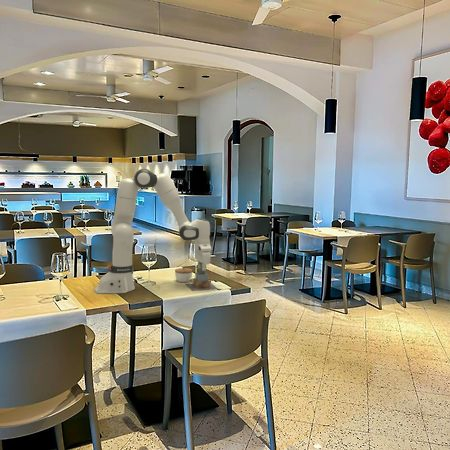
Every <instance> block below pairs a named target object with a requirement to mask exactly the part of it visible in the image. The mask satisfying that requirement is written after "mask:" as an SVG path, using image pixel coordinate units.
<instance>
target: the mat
mask: <svg viewBox="0 0 450 450" xmlns="http://www.w3.org/2000/svg"><path fill="white" fill-rule="evenodd" d="M185 286H186V287H187V288H188V289H190V291H191V292H196V291H197V292H198V291H214V290H219V288H218V287H217V286H215V285H214V284H213V283H212V282H210V288H201V289H197V288H196V287H195V286H193V283H185Z"/></svg>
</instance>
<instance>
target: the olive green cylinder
mask: <svg viewBox="0 0 450 450" xmlns="http://www.w3.org/2000/svg"><path fill="white" fill-rule="evenodd" d="M197 272H199V273H205V272H206V273H207V266H206V267H205V270H204V271H203V270H202V263H198V262H197Z"/></svg>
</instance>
